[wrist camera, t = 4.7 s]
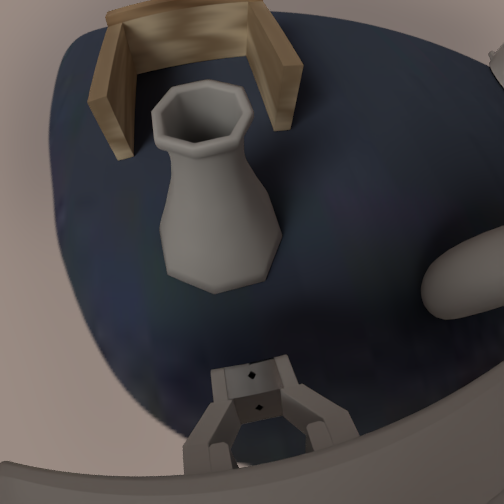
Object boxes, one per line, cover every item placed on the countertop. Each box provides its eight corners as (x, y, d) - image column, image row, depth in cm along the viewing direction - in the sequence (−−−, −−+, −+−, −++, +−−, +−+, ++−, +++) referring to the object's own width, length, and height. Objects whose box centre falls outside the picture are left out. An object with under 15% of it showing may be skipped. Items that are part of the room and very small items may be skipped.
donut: (490, 264, 18) (583, 210, 8) (498, 308, 17) (599, 270, 7) (386, 276, 17) (496, 201, 8) (394, 331, 16) (521, 298, 7)
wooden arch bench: (256, 48, 24) (259, -14, 17) (290, 129, 21) (306, 52, 14) (125, 70, 23) (107, 11, 16) (118, 160, 19) (81, 90, 13)
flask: (169, 179, 19) (127, 54, 10) (282, 184, 19) (311, 54, 10) (151, 290, 17) (59, 213, 7) (280, 298, 17) (330, 225, 7)
